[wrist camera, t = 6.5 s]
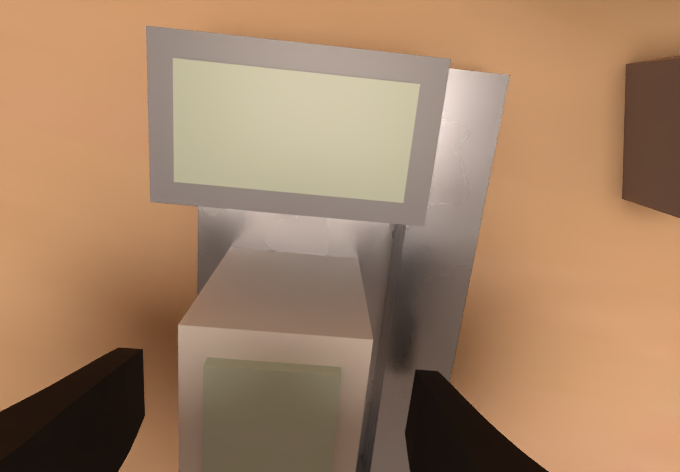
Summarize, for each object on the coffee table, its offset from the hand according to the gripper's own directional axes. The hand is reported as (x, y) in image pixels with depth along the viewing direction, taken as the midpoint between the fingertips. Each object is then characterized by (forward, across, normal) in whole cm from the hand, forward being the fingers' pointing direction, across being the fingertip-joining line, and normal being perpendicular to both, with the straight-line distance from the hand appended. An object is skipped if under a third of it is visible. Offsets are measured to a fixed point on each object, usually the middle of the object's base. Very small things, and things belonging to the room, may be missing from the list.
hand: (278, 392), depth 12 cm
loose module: (+3, 0, 0) cm, 3 cm away
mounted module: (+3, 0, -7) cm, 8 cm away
